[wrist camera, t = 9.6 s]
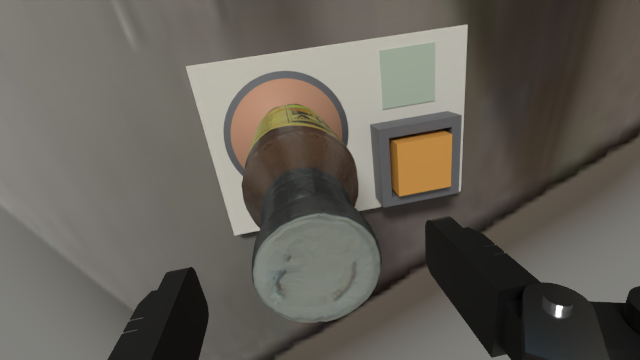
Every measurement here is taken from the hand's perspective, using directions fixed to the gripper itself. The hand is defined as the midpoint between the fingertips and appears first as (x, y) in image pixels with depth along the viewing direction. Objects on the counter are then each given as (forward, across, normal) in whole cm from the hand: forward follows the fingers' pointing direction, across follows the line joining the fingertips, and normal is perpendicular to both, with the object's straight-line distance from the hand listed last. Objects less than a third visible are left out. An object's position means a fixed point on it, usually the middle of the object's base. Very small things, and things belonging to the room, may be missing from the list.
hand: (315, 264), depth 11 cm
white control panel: (+20, -5, +1) cm, 21 cm away
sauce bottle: (+19, 0, 0) cm, 19 cm away
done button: (+18, -11, +4) cm, 21 cm away
